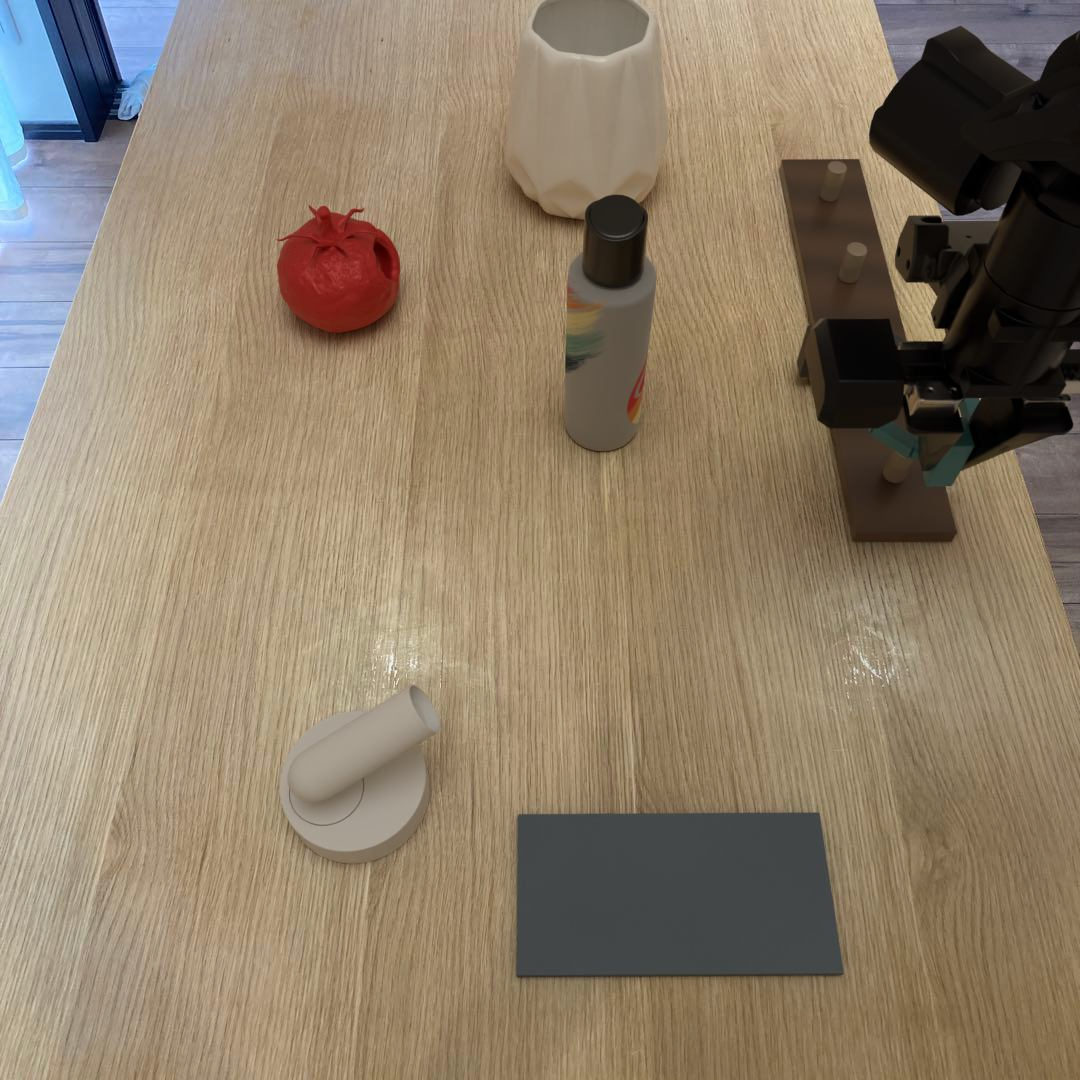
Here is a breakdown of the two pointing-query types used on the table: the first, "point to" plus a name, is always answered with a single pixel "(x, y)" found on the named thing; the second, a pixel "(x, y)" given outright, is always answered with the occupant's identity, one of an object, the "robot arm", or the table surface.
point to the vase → (586, 104)
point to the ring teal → (949, 463)
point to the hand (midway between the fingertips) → (939, 464)
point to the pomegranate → (338, 271)
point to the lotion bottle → (608, 325)
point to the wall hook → (361, 779)
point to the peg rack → (858, 292)
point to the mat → (674, 895)
